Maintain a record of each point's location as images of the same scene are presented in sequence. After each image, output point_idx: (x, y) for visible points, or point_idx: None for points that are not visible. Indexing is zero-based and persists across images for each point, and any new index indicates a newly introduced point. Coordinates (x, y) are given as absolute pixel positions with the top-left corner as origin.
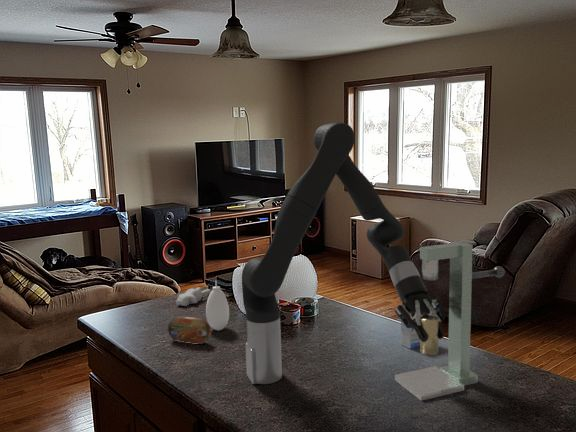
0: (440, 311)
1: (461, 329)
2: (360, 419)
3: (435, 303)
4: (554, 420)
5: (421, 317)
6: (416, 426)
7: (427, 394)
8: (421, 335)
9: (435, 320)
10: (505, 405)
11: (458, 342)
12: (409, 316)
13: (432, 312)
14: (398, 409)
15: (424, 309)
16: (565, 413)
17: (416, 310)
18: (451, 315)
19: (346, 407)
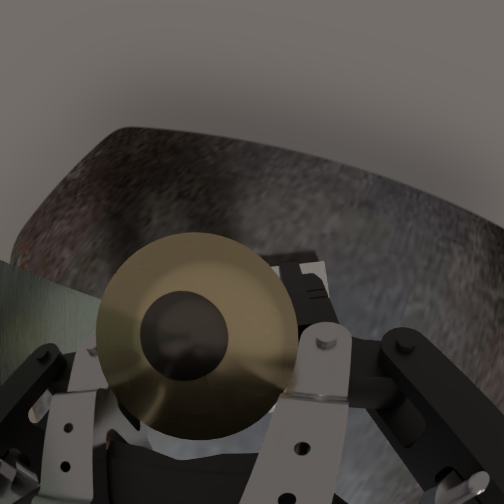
0: (22, 393)
1: (45, 279)
2: (464, 233)
3: (2, 479)
4: (120, 141)
5: (261, 400)
6: (373, 175)
7: (302, 264)
8: (318, 284)
9: (164, 245)
10: (145, 194)
11: (92, 313)
12: (430, 400)
13: (88, 398)
14: (390, 244)
15: (150, 485)
16: (90, 157)
17: (323, 473)
18: (3, 365)
19: (480, 285)
